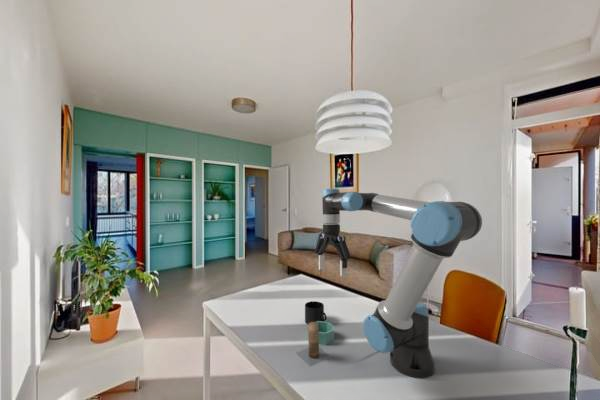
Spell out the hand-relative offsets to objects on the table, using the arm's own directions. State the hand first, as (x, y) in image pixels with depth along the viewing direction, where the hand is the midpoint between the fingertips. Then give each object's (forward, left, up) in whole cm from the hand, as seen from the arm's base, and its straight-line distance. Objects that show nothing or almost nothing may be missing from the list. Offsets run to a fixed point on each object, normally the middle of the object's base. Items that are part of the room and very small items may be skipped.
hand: (331, 272), depth 111 cm
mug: (+16, -3, -30) cm, 34 cm away
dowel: (-6, +14, -29) cm, 33 cm away
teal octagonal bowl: (+3, +4, -30) cm, 30 cm away
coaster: (-5, +14, -30) cm, 33 cm away
